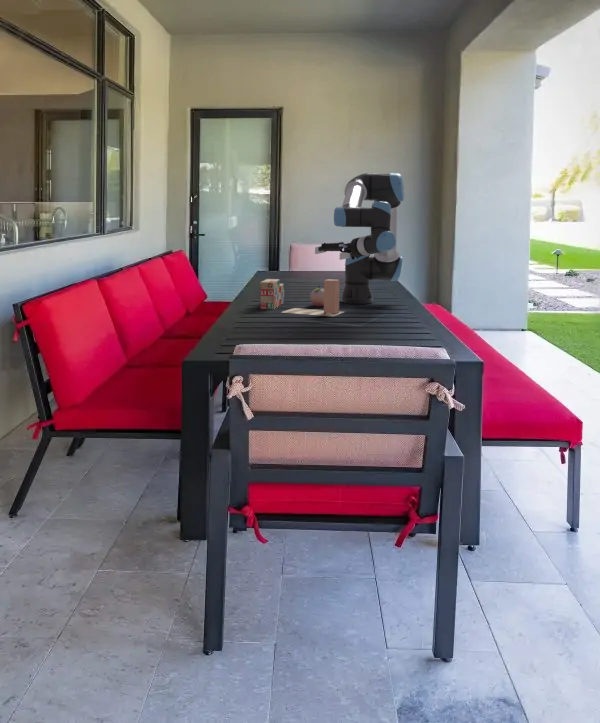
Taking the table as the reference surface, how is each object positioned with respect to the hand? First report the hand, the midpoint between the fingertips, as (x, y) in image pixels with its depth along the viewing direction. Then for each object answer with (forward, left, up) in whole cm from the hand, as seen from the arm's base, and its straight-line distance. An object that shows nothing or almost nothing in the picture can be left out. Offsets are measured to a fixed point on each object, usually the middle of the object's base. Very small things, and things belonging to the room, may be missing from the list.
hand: (328, 253), depth 321 cm
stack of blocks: (+19, -28, -26) cm, 42 cm away
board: (+6, 0, -26) cm, 26 cm away
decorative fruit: (-1, -18, -26) cm, 32 cm away
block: (-1, +4, -25) cm, 25 cm away
